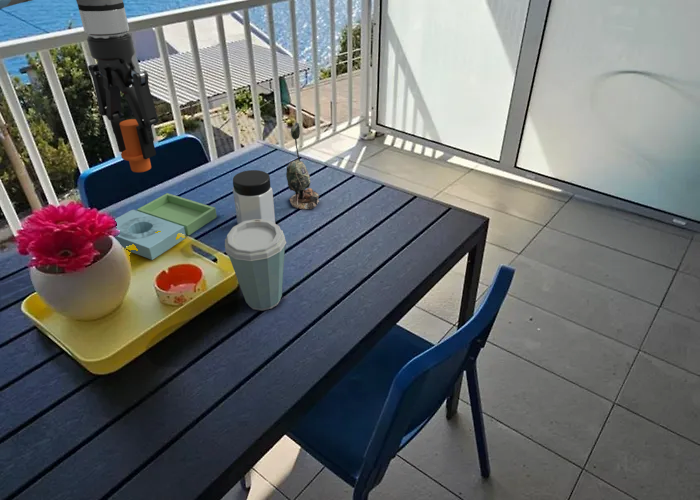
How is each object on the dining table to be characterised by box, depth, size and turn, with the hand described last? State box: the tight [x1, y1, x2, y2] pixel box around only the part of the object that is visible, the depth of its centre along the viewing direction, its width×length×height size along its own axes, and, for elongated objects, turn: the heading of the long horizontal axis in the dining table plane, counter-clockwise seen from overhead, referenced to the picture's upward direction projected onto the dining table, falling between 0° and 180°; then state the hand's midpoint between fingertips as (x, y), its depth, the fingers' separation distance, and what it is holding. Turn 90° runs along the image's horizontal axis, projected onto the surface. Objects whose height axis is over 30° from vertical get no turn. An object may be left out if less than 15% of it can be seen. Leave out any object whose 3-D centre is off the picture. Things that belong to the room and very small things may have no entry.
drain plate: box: [114, 209, 187, 261], centre depth 110 cm, size 16×10×3 cm, turn 62°
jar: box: [232, 169, 276, 225], centre depth 114 cm, size 9×8×12 cm
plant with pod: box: [284, 121, 320, 210], centre depth 120 cm, size 8×11×20 cm
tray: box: [136, 192, 218, 236], centre depth 118 cm, size 16×10×3 cm, turn 62°
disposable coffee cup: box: [224, 219, 287, 312], centre depth 90 cm, size 11×11×15 cm
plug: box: [120, 118, 152, 173], centre depth 102 cm, size 6×6×10 cm
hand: (137, 153), depth 103 cm, fingers closed on plug, 6 cm apart
